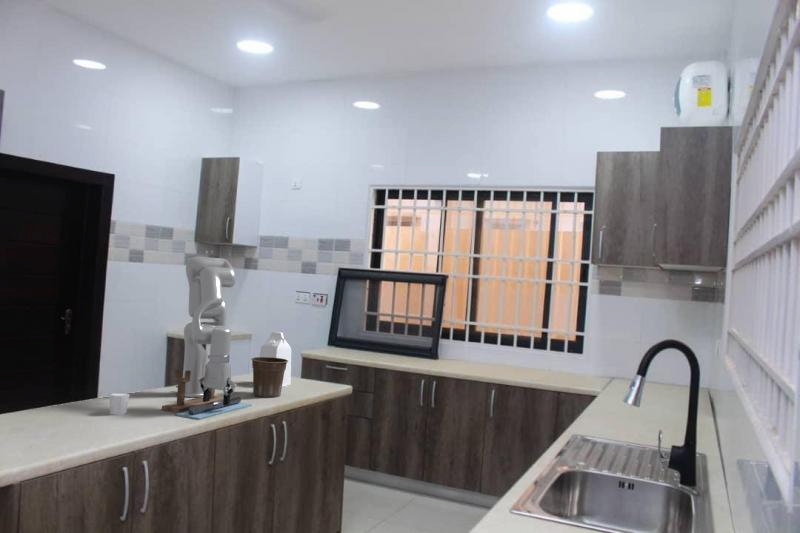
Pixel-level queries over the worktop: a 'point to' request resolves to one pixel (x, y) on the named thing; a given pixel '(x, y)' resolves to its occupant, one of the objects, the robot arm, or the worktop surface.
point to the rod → (212, 405)
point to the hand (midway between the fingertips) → (216, 403)
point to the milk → (278, 353)
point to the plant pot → (268, 376)
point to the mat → (214, 411)
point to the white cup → (118, 403)
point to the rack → (181, 404)
